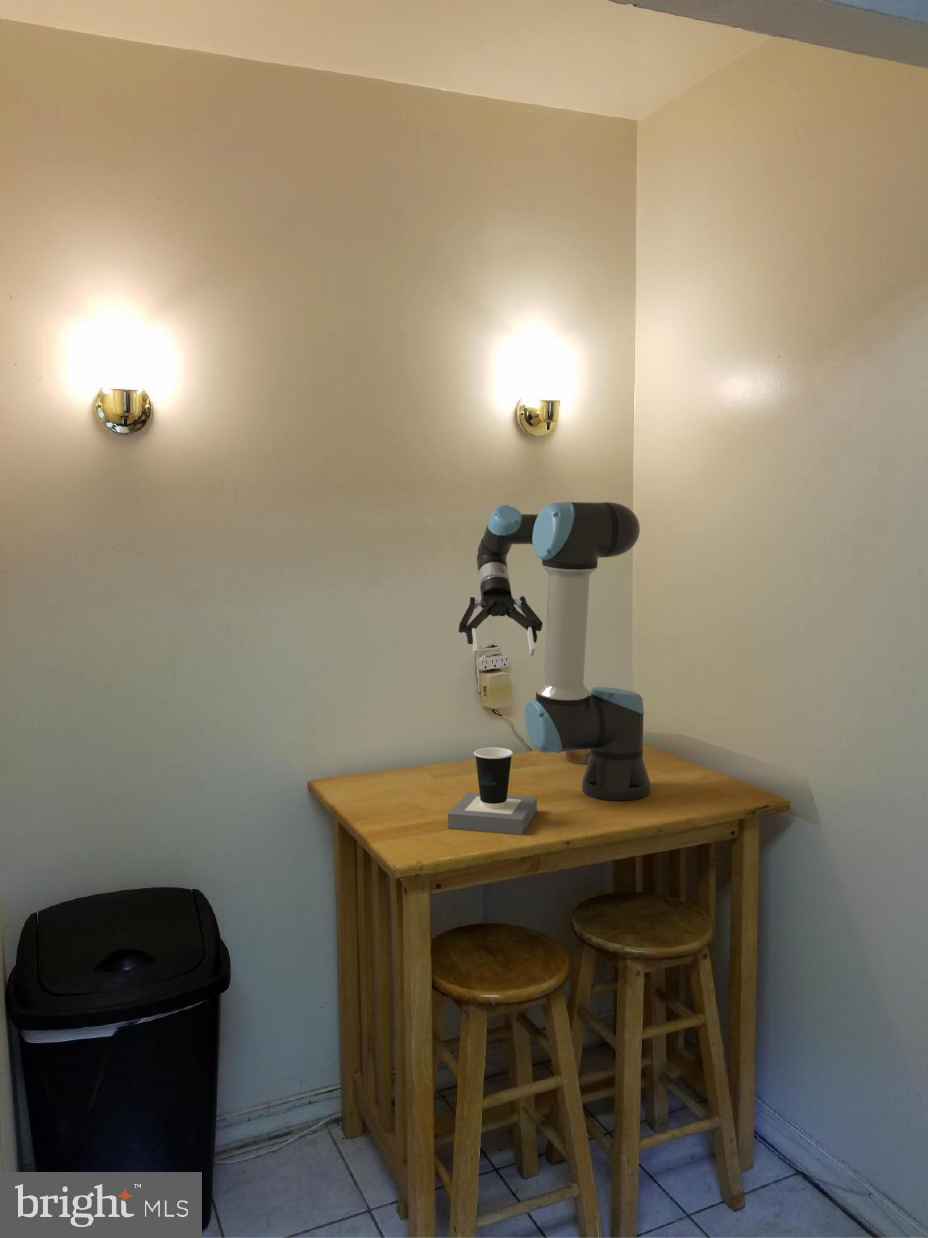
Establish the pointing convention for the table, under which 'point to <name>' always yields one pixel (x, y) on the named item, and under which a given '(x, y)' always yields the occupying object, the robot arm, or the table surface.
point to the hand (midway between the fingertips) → (504, 653)
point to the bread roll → (578, 756)
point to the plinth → (493, 814)
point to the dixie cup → (493, 775)
